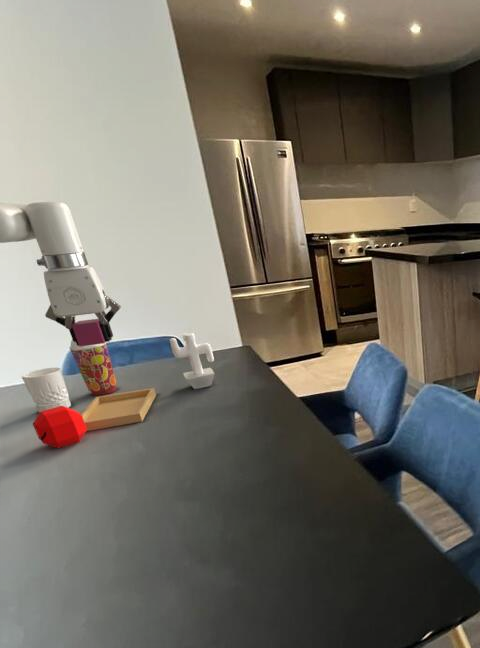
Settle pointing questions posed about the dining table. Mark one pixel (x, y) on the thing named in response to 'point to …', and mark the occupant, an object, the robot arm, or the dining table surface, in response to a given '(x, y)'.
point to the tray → (118, 409)
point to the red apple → (59, 426)
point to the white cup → (47, 388)
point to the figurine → (195, 360)
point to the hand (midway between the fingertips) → (94, 341)
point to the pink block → (88, 332)
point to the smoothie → (95, 367)
